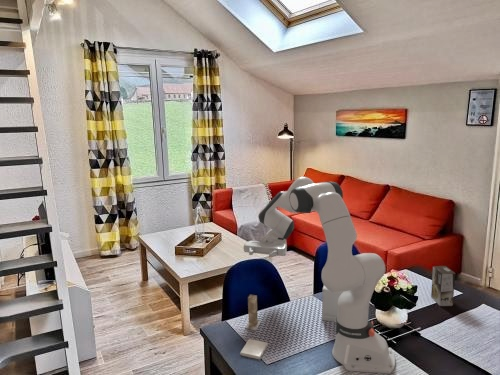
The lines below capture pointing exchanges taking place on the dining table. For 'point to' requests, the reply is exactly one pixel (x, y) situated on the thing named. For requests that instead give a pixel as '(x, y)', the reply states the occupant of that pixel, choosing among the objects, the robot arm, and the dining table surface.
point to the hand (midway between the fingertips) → (260, 254)
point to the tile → (254, 349)
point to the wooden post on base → (252, 313)
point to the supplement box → (329, 304)
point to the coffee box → (443, 285)
